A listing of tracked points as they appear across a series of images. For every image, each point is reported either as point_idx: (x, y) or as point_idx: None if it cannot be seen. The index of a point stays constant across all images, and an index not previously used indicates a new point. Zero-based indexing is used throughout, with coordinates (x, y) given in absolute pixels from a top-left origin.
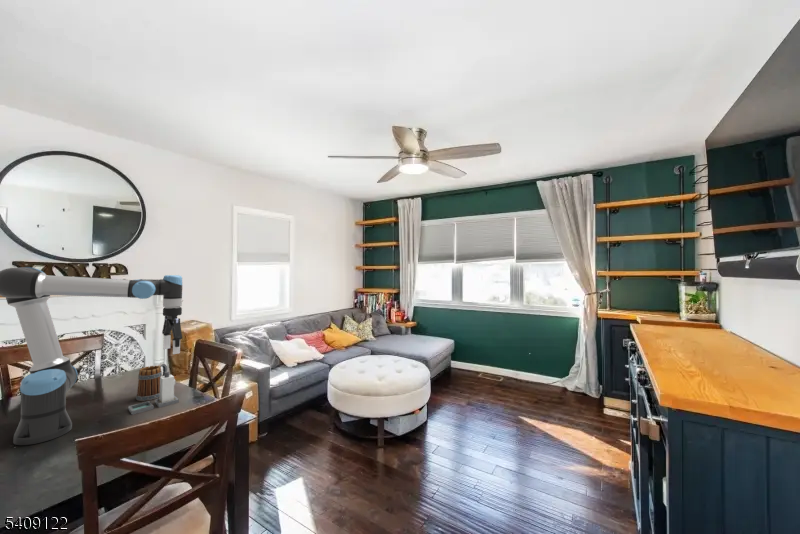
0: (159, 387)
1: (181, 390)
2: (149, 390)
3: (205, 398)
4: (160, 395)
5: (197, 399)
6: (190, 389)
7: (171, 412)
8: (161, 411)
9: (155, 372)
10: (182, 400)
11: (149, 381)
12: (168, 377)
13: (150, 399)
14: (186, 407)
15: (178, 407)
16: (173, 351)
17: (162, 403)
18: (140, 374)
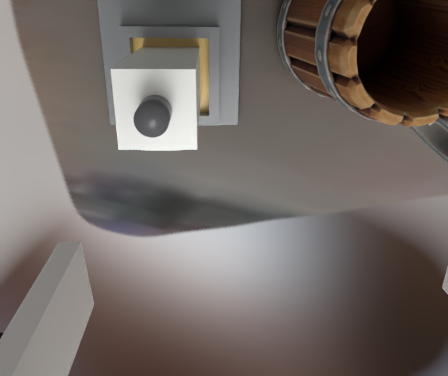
0: (304, 76)
1: (333, 179)
2: (297, 14)
3: (125, 225)
4: (182, 51)
5: (138, 197)
6: (310, 212)
7: (38, 62)
8: (88, 27)
9: (333, 67)
10: None
11: (316, 17)
12: (126, 114)
13: (279, 16)
14: (61, 133)
15: (88, 105)
16: (46, 267)
17: (120, 44)
18: None
